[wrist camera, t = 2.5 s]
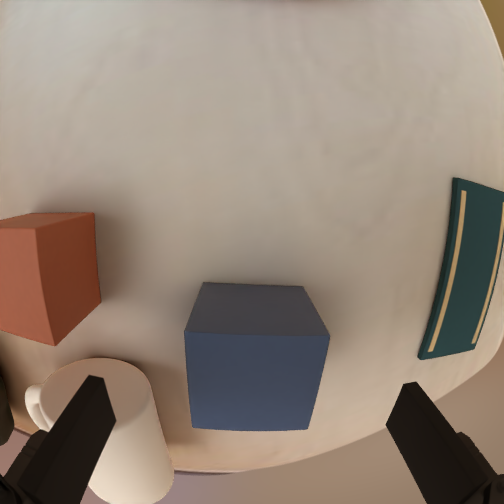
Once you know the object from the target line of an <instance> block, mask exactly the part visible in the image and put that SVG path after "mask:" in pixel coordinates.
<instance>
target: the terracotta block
mask: <svg viewBox="0 0 504 504" xmlns="http://www.w3.org/2000/svg"><path fill="white" fill-rule="evenodd" d="M100 303H101V297H100V289H99V280H98V270H97V258H96V242H95V214H94V213H93V212H84V213H30V214H25V215H20V216H16V217H12V218H7V219H3V220H0V330H2V331H5V332H8V333H11V334H14V335H17V336H21V337H24V338H27V339H30V340H34V341H37V342H41V343H44V344H48V345H52V346H56V345H57V344H58V343H59V342H60V341H61V340H62V339H63V338H65V337H66V336H67V335H68V334H69V333H70V332H71V331H72V330H73V329H74V328H75V327H76V326H77V325H78V324H79V323H80V322H81V321H82V320H83V319H84V318H85V317H86V316H87V315H88V314H89V313H91V312H92V311H93V310H94V309H95V308H96V307H97V306H98V305H99V304H100Z"/></svg>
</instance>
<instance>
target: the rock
mask: <svg viewBox="0 0 504 504" xmlns="http://www.w3.org/2000/svg"><path fill="white" fill-rule="evenodd" d="M13 429H14V419H13V416H12V413H11V410H10V406H9V403H8V400H7V395H6V390H5V385H4V382H3V380H2V378H1V376H0V446H1V445H3V444H5V443H6V442H7V441H8V439H9V437H10V435H11V433H12V431H13Z"/></svg>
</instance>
